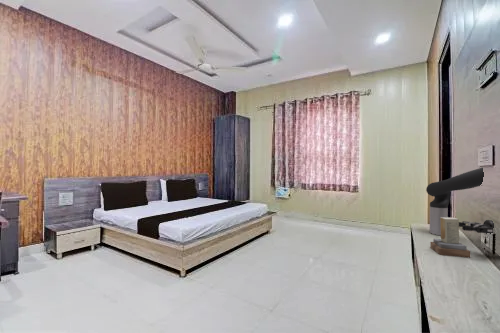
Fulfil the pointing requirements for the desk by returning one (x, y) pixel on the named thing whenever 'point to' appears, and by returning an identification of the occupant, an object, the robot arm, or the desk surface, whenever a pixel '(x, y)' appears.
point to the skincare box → (449, 230)
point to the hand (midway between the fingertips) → (458, 225)
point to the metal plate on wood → (450, 248)
